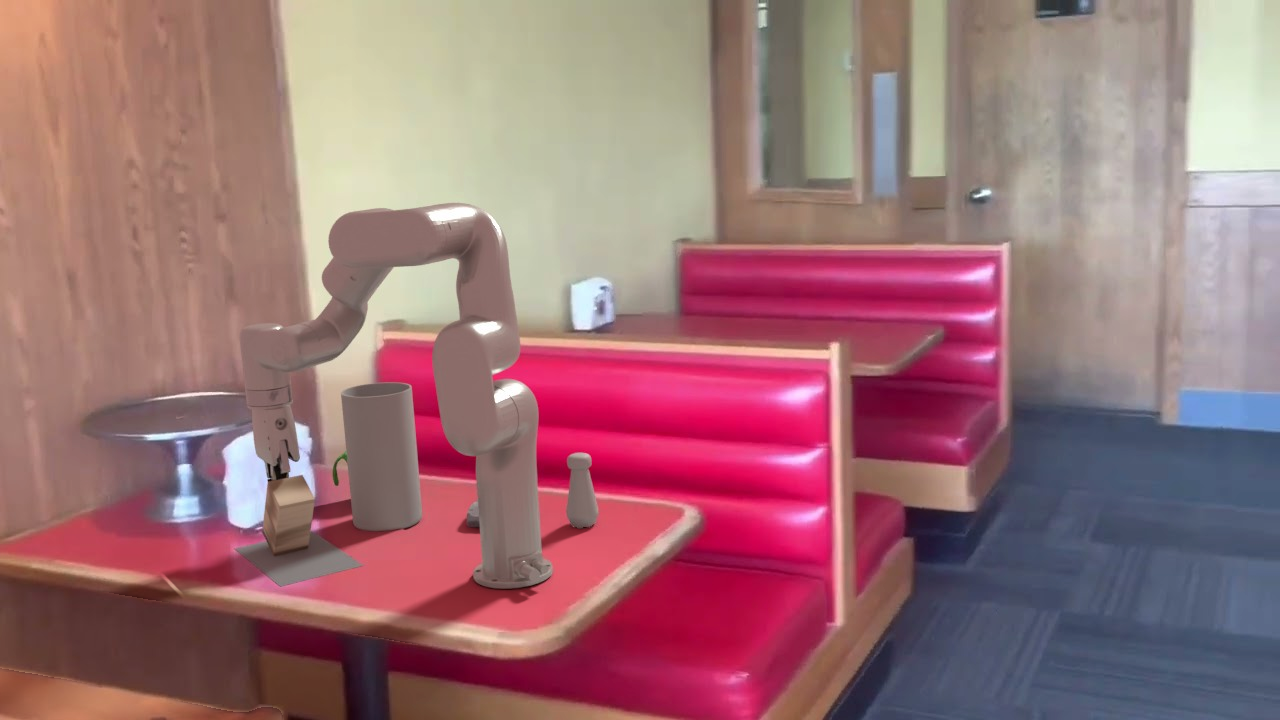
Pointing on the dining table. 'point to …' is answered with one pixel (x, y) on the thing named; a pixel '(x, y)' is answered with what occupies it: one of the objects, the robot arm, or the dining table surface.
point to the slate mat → (299, 561)
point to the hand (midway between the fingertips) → (280, 500)
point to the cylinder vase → (382, 456)
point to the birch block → (288, 515)
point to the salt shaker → (581, 492)
